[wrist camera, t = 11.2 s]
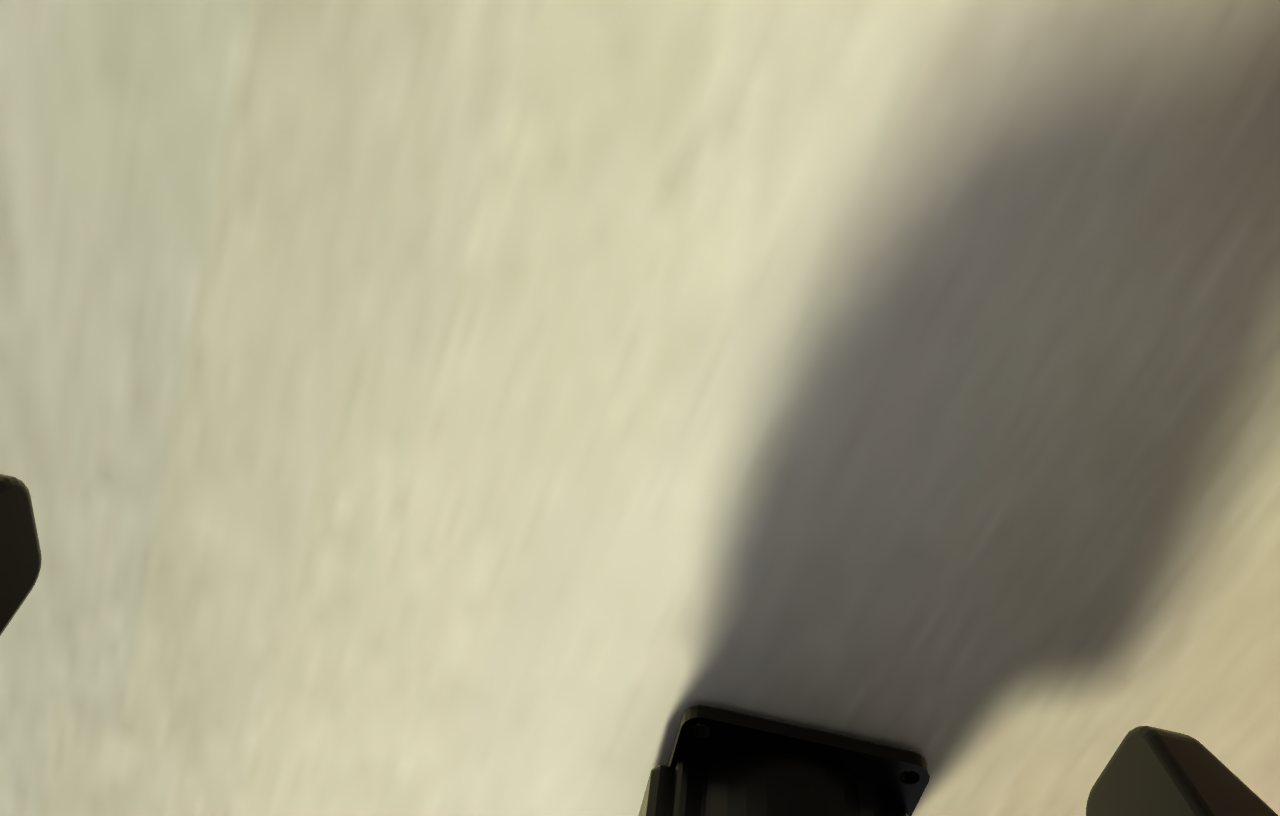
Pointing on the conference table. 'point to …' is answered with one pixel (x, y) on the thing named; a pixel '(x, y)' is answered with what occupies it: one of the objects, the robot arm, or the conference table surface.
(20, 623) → the conference table surface
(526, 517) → the conference table surface
